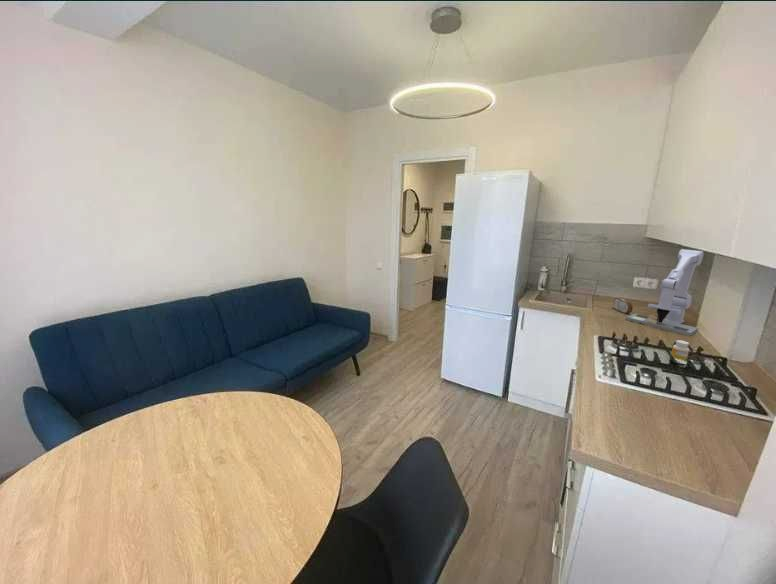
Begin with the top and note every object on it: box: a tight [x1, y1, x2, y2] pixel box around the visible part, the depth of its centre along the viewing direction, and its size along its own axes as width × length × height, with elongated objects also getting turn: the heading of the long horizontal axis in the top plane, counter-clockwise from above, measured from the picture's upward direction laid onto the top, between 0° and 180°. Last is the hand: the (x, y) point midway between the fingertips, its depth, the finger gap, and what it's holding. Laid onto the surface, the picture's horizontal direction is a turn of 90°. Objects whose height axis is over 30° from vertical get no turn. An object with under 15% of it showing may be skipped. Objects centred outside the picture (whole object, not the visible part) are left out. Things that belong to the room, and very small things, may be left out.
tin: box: [613, 297, 633, 314], centre depth 213 cm, size 15×3×8 cm, turn 179°
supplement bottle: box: [670, 339, 690, 360], centre depth 139 cm, size 5×5×10 cm
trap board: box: [625, 313, 699, 337], centre depth 188 cm, size 14×30×2 cm, turn 35°
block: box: [648, 313, 659, 323], centre depth 187 cm, size 4×4×4 cm
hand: (660, 322), depth 185 cm, fingers closed
